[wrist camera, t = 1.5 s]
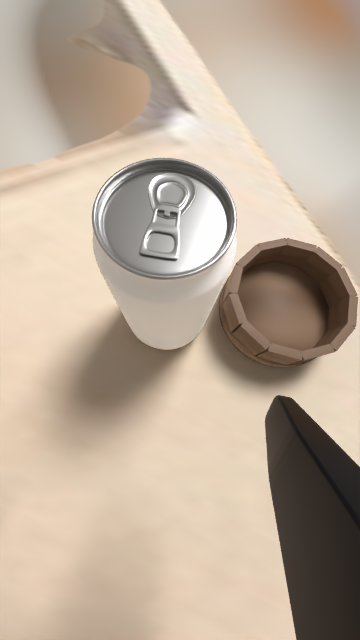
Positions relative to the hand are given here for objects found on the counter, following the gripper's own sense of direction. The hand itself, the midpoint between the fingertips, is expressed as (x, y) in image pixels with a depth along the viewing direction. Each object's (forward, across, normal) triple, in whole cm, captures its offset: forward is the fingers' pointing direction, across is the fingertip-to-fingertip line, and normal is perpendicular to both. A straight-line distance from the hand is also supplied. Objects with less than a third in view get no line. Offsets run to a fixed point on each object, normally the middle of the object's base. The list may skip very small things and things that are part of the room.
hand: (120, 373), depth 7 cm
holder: (+15, -9, +3) cm, 18 cm away
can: (+14, 0, +5) cm, 14 cm away
